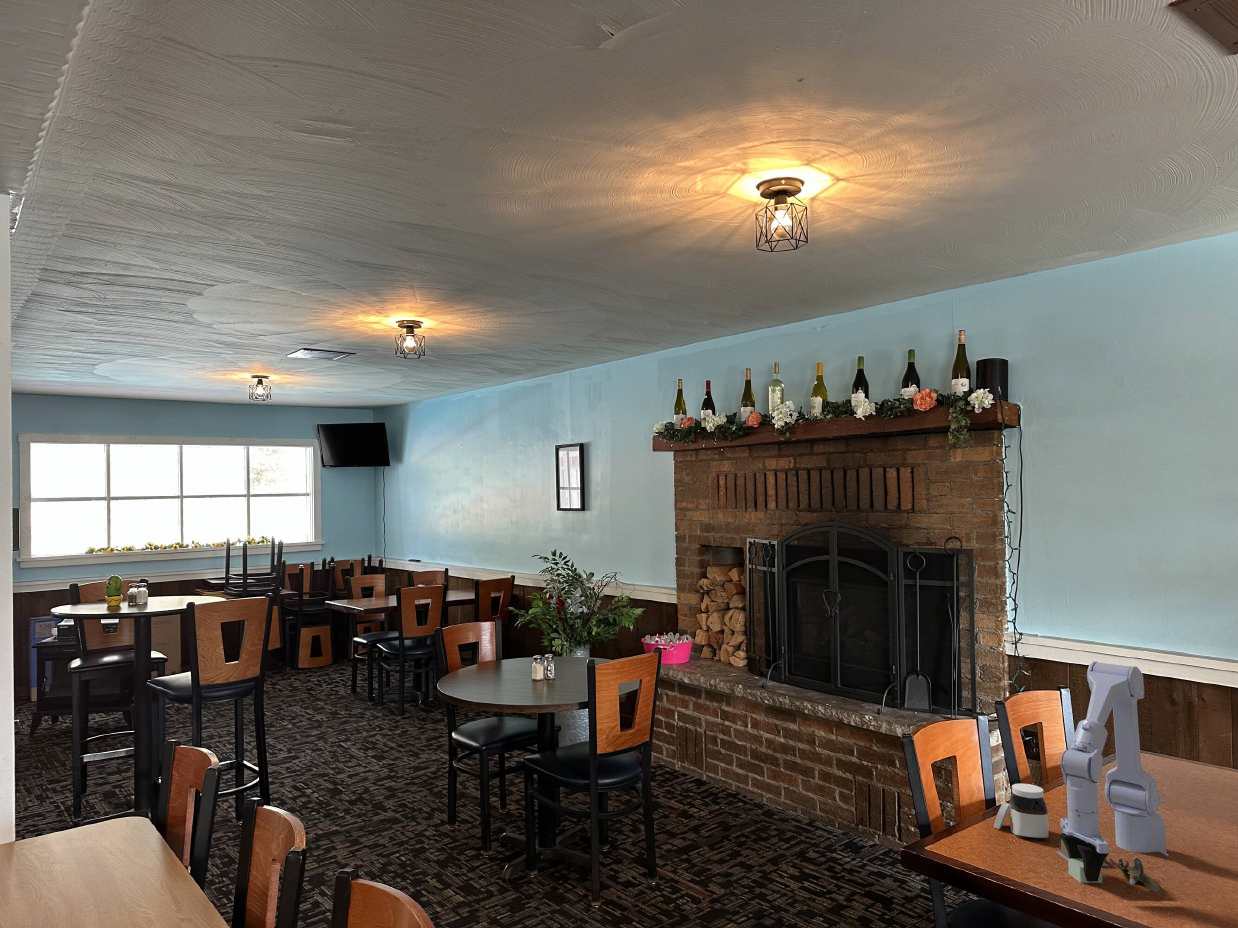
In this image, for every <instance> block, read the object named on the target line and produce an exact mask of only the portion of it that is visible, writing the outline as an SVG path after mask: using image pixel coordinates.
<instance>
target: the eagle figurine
mask: <svg viewBox="0 0 1238 928" xmlns="http://www.w3.org/2000/svg"><path fill="white" fill-rule="evenodd" d="M1132 858H1133V863H1134V865H1133V866H1130V862H1129V860H1127V859H1125V862H1126V863H1125V864H1124V861H1123V859H1122V858H1119V859H1118V863H1117V862H1115V861H1114V860H1113V859H1112V858H1110V857H1109V861H1110V863H1112V865H1114V866H1115V867H1117V868H1118V869H1119V870H1120V871H1121V872H1122V874H1123V876H1124V877H1125V878H1127V879H1128V878H1129V884H1130V885H1131V886H1134V885H1136V883H1137V882H1140V883H1142V884H1143V885H1144V887H1145V888H1146V890H1147V891H1150V892H1160V891H1162V890H1163V888H1162V887H1161V885H1160V884H1159V883H1158V882H1157V881H1156V880H1155V879H1153V878H1152V877H1150V876H1149V875H1148V874H1147V873H1145V870H1144V866H1143V863H1142V860H1141V859H1140V858H1138V857H1137V856H1132ZM1129 872H1130V873H1129Z"/></svg>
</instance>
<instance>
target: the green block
mask: <svg viewBox="0 0 1238 928" xmlns="http://www.w3.org/2000/svg"><path fill="white" fill-rule="evenodd" d="M1067 862H1068V863H1067V865H1068V874H1069V875H1070V876H1071V877H1072V878H1073V879H1075V880H1076V881H1077V882H1079V883H1080V884H1103V869H1102V868H1103V866H1102V867H1101V871H1100V875H1099V879H1098V881H1087V880H1086V877H1085V872H1084V865H1083V860H1082V859H1068V861H1067Z"/></svg>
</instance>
